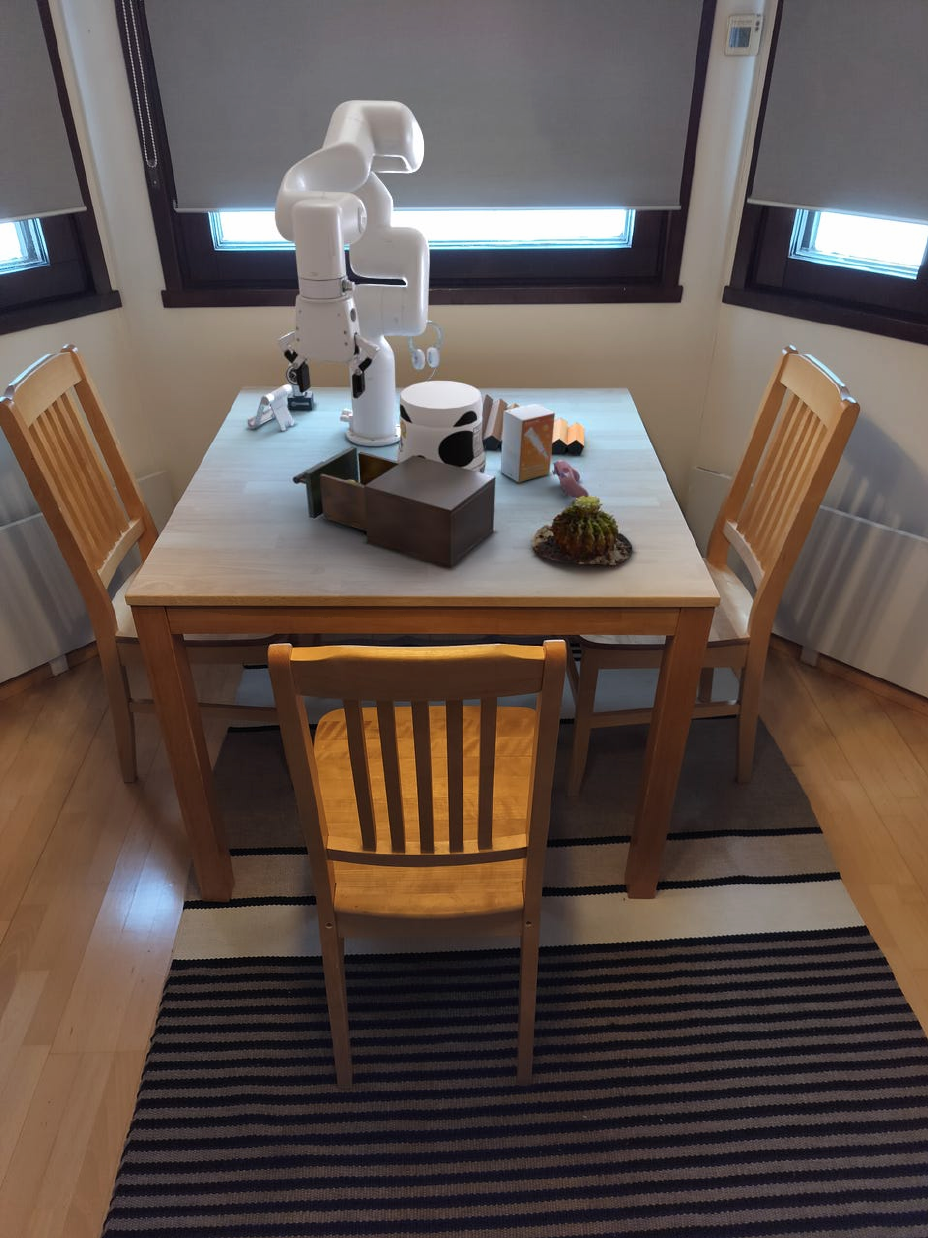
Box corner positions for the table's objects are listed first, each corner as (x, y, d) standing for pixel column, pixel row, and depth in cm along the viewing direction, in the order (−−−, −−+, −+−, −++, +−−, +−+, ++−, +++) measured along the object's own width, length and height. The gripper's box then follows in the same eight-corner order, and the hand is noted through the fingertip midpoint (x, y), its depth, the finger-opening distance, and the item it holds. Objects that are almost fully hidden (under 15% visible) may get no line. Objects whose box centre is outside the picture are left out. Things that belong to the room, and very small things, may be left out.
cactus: (623, 525, 150) (630, 476, 144) (640, 571, 137) (648, 519, 131) (528, 525, 149) (531, 475, 144) (536, 571, 136) (540, 518, 131)
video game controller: (559, 487, 166) (546, 458, 162) (580, 477, 165) (567, 448, 161) (569, 510, 158) (555, 480, 154) (591, 499, 157) (577, 469, 153)
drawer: (285, 510, 151) (279, 464, 146) (331, 482, 161) (327, 439, 156) (380, 540, 143) (378, 492, 137) (423, 509, 152) (422, 464, 147)
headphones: (437, 401, 201) (437, 316, 190) (445, 406, 198) (445, 320, 187) (407, 407, 198) (404, 321, 186) (415, 412, 195) (413, 325, 184)
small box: (518, 483, 164) (522, 420, 156) (499, 472, 168) (502, 409, 161) (550, 474, 168) (555, 412, 160) (531, 463, 172) (535, 402, 164)
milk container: (386, 471, 168) (383, 383, 157) (467, 460, 173) (468, 374, 162) (411, 508, 154) (409, 415, 144) (498, 495, 159) (501, 404, 149)
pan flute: (478, 407, 198) (466, 448, 178) (478, 393, 196) (466, 433, 176) (583, 412, 196) (583, 455, 176) (584, 398, 194) (584, 440, 174)
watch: (287, 413, 193) (282, 366, 187) (291, 401, 200) (286, 355, 194) (311, 413, 194) (307, 366, 187) (314, 401, 200) (310, 355, 194)
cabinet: (367, 542, 144) (364, 485, 137) (414, 509, 154) (412, 455, 148) (450, 569, 137) (450, 510, 131) (493, 532, 147) (495, 476, 141)
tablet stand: (271, 415, 192) (266, 380, 187) (299, 421, 189) (295, 385, 185) (248, 428, 185) (243, 391, 181) (277, 434, 183) (273, 397, 178)
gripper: (382, 285, 133) (387, 390, 142) (282, 278, 136) (293, 380, 146) (366, 297, 127) (372, 405, 136) (262, 288, 130) (275, 395, 140)
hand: (331, 392), depth 141 cm, fingers open, 9 cm apart
